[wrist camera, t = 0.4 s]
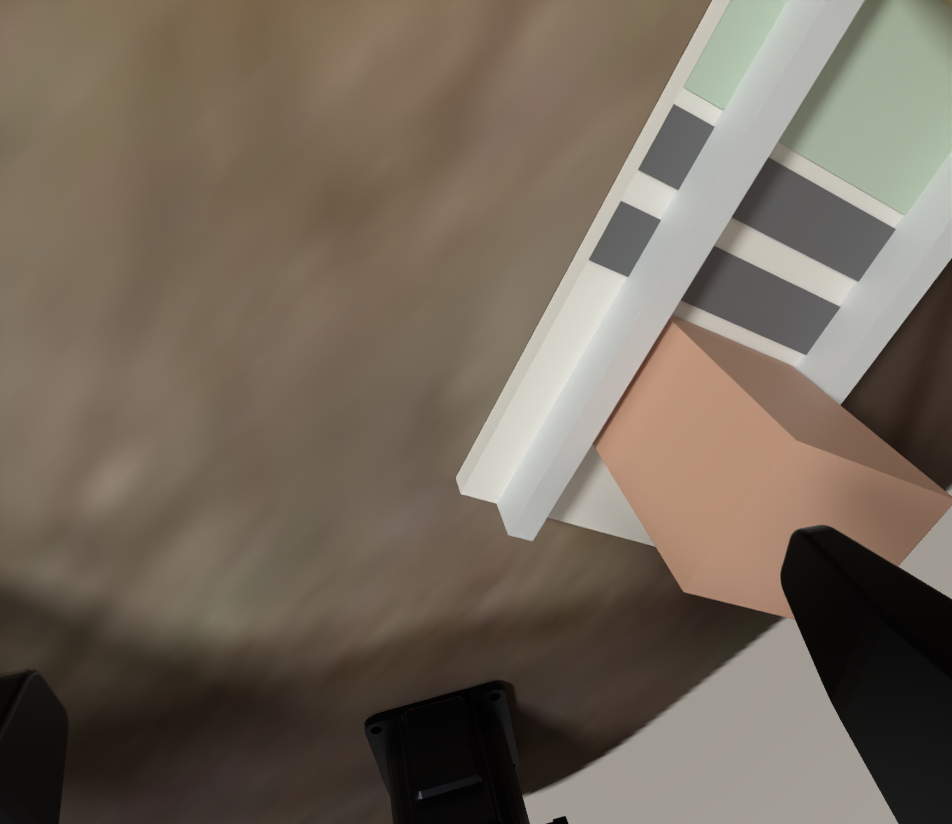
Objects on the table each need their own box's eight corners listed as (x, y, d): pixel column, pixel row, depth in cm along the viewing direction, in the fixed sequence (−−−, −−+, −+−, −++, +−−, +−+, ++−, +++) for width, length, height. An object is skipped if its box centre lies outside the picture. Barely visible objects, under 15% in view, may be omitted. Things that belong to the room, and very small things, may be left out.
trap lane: (701, 546, 33) (790, 675, 27) (455, 477, 28) (498, 615, 22) (1058, 60, 24) (1300, 92, 18) (792, -150, 20) (1003, -197, 14)
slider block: (713, 474, 29) (841, 630, 22) (585, 432, 26) (683, 592, 20) (791, 365, 27) (956, 500, 20) (659, 309, 25) (796, 440, 18)
